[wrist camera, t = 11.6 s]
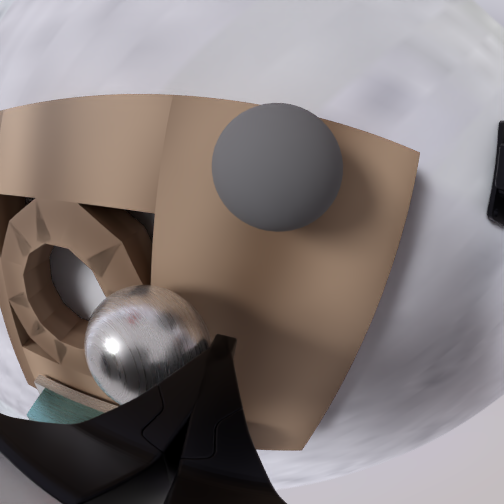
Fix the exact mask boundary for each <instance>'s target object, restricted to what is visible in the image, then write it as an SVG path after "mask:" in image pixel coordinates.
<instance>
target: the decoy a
mask: <svg viewBox="0 0 504 504" xmlns="http://www.w3.org/2000/svg"><path fill="white" fill-rule="evenodd" d="M212 176H213V182H214V185H215V188H216V191H217V193H218V195H219V197H220V199H221V200H222V202H223V203H224V205H225V206H226V207H227V208H228V210H229V211H230V212H231V213H232V214H234V215H235V216H236V217H237V218H239V219H240V220H241V221H243V222H245V223H247V224H248V225H250V226H253V227H255V228H258V229H262V230H266V231H274V232H284V231H291V230H295V229H299V228H302V227H304V226H306V225H308V224H310V223H312V222H314V221H315V220H317V219H318V218H319V217H320V216H322V215H323V214H324V213H325V212H326V211H327V210H328V208H329V207H330V206H331V204H332V203H333V201H334V200H335V198H336V196H337V194H338V192H339V189H340V186H341V182H342V176H343V160H342V155H341V151H340V147H339V145H338V142H337V140H336V138H335V137H334V135H333V133H332V132H331V130H330V129H329V128H328V126H327V125H326V124H325V123H324V122H323V121H322V120H321V119H319V118H318V117H317V116H316V115H314V114H312V113H311V112H309V111H307V110H305V109H303V108H301V107H298V106H294V105H291V104H284V103H270V104H263V105H259V106H255V107H253V108H250V109H248V110H246V111H244V112H242V113H241V114H239V115H238V116H237V117H235V118H234V119H233V120H232V121H231V122H230V123H229V124H228V125H227V126H226V127H225V129H224V130H223V131H222V133H221V134H220V136H219V138H218V140H217V142H216V145H215V148H214V152H213V156H212Z"/></svg>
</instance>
